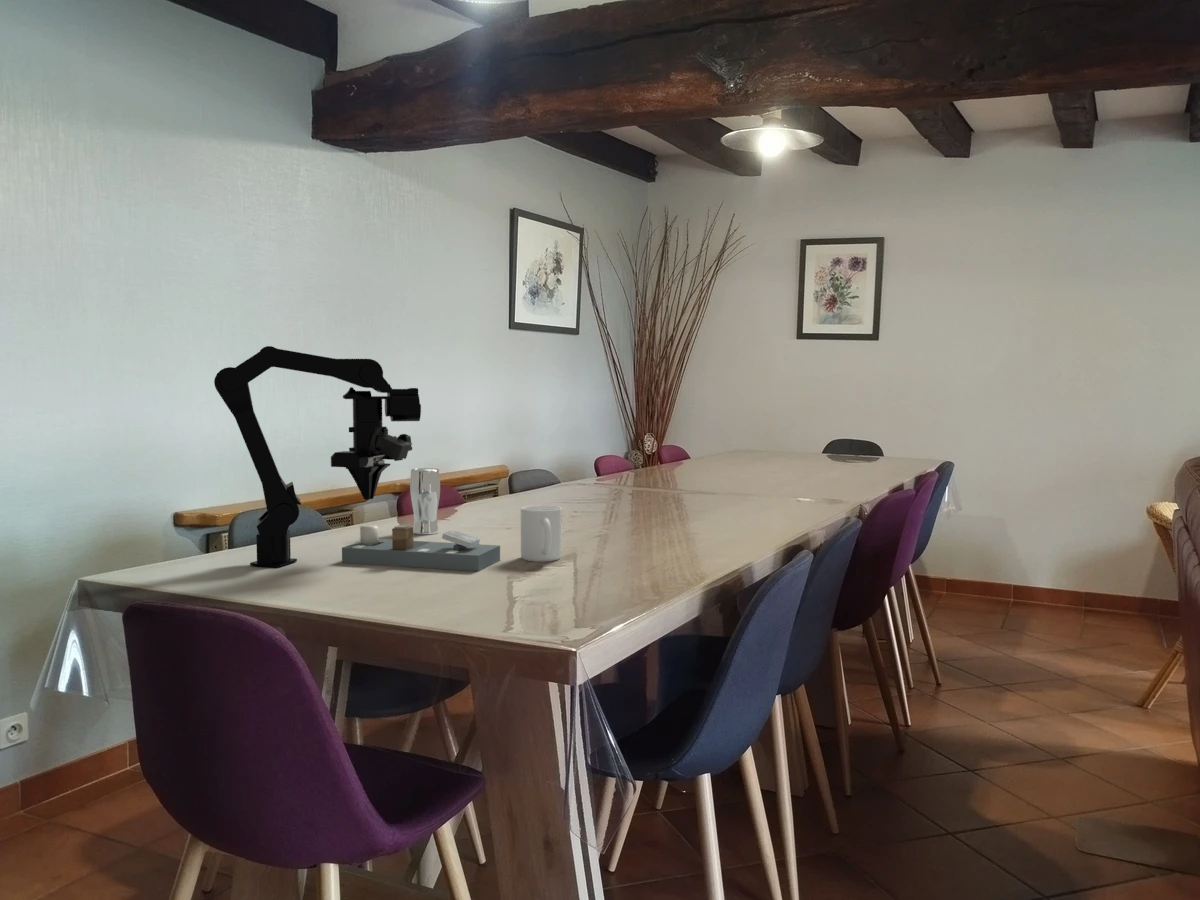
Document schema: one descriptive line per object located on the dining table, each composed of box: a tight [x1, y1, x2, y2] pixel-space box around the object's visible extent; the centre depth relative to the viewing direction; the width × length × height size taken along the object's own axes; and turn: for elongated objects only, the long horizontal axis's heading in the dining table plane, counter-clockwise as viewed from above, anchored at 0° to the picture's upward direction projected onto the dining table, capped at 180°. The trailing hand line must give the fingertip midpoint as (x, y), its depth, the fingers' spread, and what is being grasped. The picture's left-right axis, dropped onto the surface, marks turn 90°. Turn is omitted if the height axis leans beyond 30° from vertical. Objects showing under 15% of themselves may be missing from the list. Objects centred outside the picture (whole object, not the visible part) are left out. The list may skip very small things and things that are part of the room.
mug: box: [520, 504, 563, 563], centre depth 185 cm, size 12×8×10 cm
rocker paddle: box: [441, 529, 481, 548], centre depth 180 cm, size 5×6×1 cm
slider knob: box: [391, 524, 414, 550], centre depth 180 cm, size 3×3×4 cm
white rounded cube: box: [359, 524, 380, 546], centre depth 186 cm, size 4×4×4 cm
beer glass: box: [409, 467, 441, 536], centre depth 216 cm, size 7×7×15 cm
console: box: [341, 538, 501, 572], centre depth 183 cm, size 11×29×4 cm, turn 75°
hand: (368, 499), depth 185 cm, fingers closed
